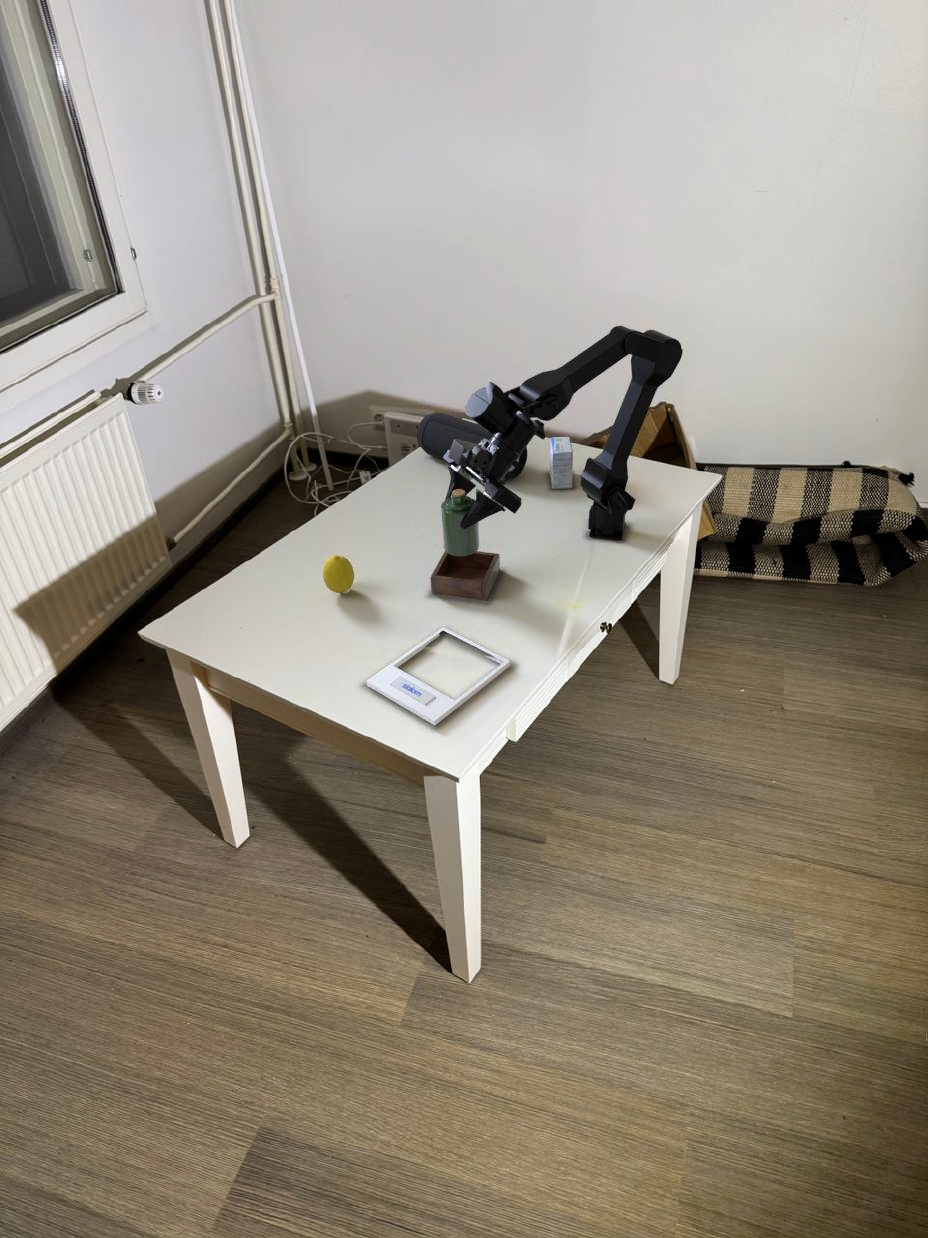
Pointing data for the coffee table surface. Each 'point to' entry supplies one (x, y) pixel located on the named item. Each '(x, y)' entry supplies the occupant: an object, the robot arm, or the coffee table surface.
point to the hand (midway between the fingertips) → (453, 519)
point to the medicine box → (561, 462)
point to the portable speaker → (456, 437)
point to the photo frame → (421, 695)
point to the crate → (466, 575)
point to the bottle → (458, 525)
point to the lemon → (338, 574)
